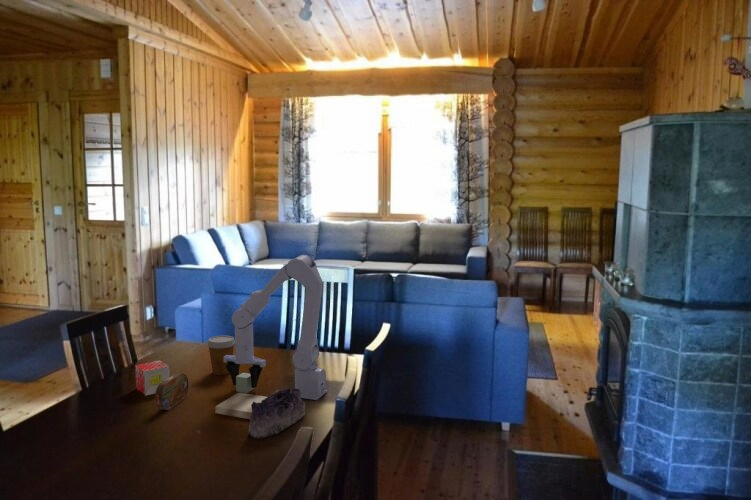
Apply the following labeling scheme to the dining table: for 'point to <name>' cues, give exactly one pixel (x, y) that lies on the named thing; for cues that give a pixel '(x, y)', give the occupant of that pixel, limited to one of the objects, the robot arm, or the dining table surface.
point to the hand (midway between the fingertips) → (245, 385)
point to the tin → (171, 391)
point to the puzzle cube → (150, 376)
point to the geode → (276, 413)
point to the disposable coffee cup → (220, 352)
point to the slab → (238, 405)
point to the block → (243, 383)
